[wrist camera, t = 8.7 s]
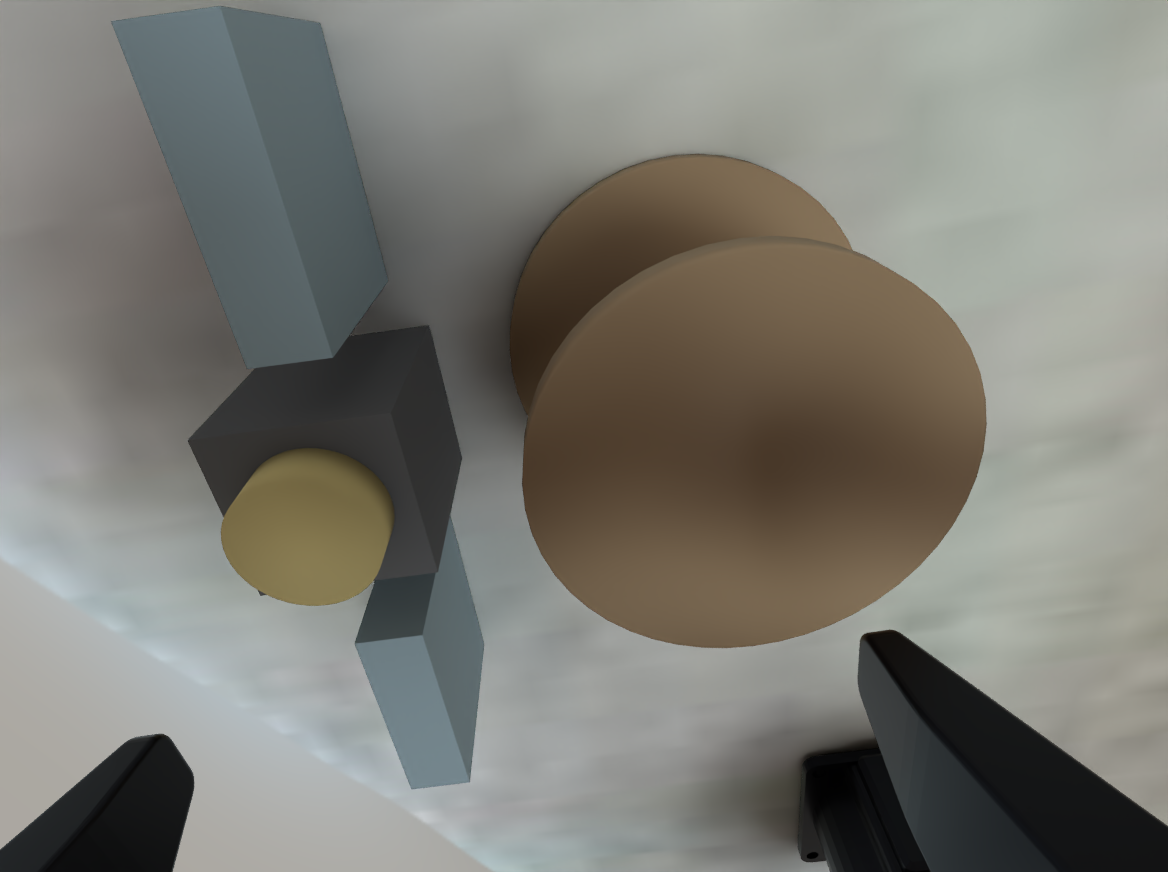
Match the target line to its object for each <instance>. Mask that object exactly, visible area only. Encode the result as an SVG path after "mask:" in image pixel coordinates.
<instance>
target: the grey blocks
mask: <svg viewBox="0 0 1168 872" xmlns="http://www.w3.org/2000/svg"><path fill="white" fill-rule="evenodd" d="M111 22H112V25H113V28H114V30H115V33H116V35H117V38H118V40H119V43H120V45H121V48H122V51H123V53H124V56H125V58H126V61H127V63H128V66H129V68H130V71H131V74H132V76H133V79H134V81H135V84H136V86H137V89H138V91H139V94H140V97H141V99H142V102H143V104H144V107H145V109H146V112H147V114H148V117H149V120H150V122H151V125H152V127H153V130H154V132H155V135H156V137H157V140H158V143H159V145H160V148H161V150H162V153H163V155H164V158H165V160H166V163H167V166H168V168H169V171H170V173H171V176H172V178H173V181H174V183H175V186H176V189H177V191H178V194H179V196H180V199H181V201H182V204H183V206H184V209H185V212H186V214H187V217H188V219H189V222H190V224H191V227H192V229H193V232H194V235H195V237H196V240H197V242H198V245H199V247H200V250H201V252H202V255H203V258H204V260H205V263H206V265H207V268H208V270H209V273H210V275H211V278H212V281H213V283H214V286H215V288H216V291H217V293H218V296H219V298H220V301H221V304H222V306H223V309H224V311H225V314H226V316H227V319H228V321H229V324H230V327H231V329H232V332H233V334H234V337H235V339H236V342H237V344H238V347H239V350H240V352H241V355H242V357H243V360H244V362H245V365H246V367H247V369H252V368H259V367H267V366H274V365H282V364H289V363H297V362H305V361H312V360H320V359H327V358H333V357H334V356H335V354H336V353H337V352H338V350H339V349H340V347H341V346H342V345H343V343H344V342H345V340H346V339H347V338H348V336H349V335H350V333H351V332H352V331H353V329H354V328H355V326H356V325H357V324H358V322H359V321H360V319H361V318H362V317H363V315H364V314H365V313H366V311H367V310H368V308H369V307H370V306H371V304H372V303H373V301H374V300H375V299H376V297H377V296H378V294H379V293H380V292H381V290H382V289H383V287H384V286H385V285H386V283H387V282H388V278H387V274H386V271H385V267H384V263H383V259H382V256H381V252H380V248H379V244H378V240H377V237H376V233H375V229H374V225H373V221H372V218H371V214H370V210H369V206H368V203H367V199H366V195H365V191H364V187H363V184H362V180H361V176H360V172H359V168H358V165H357V161H356V157H355V153H354V149H353V146H352V142H351V138H350V134H349V131H348V127H347V123H346V119H345V115H344V112H343V108H342V104H341V100H340V96H339V93H338V89H337V85H336V81H335V78H334V74H333V70H332V66H331V62H330V59H329V55H328V51H327V47H326V43H325V40H324V36H323V32H322V28H321V24H320V23H317V22H311V21H305V20H300V19H294V18H288V17H282V16H276V15H270V14H264V13H258V12H252V11H246V10H241V9H235V8H229V7H223V6H216V7H209V8H202V9H195V10H188V11H181V12H173V13H166V14H159V15H152V16H145V17H138V18H130V19H123V20H116V21H111ZM355 646H356V649H357V651H358V654H359V656H360V659H361V661H362V664H363V667H364V669H365V672H366V674H367V677H368V679H369V682H370V684H371V687H372V690H373V692H374V695H375V697H376V700H377V702H378V705H379V707H380V710H381V713H382V715H383V718H384V720H385V723H386V725H387V728H388V730H389V733H390V736H391V738H392V741H393V743H394V746H395V748H396V751H397V753H398V756H399V759H400V761H401V764H402V766H403V769H404V771H405V774H406V776H407V779H408V782H409V784H410V787H411V789H418V788H427V787H435V786H443V785H451V784H459V783H467V782H470V775H471V765H472V756H473V746H474V737H475V727H476V718H477V708H478V699H479V689H480V680H481V670H482V661H483V651H484V642H483V638H482V634H481V631H480V627H479V623H478V619H477V615H476V612H475V608H474V604H473V600H472V596H471V593H470V589H469V585H468V581H467V577H466V574H465V570H464V566H463V562H462V559H461V555H460V551H459V547H458V543H457V540H456V536H455V532H454V528H453V524H452V521H451V517H449V522H448V527H447V532H446V537H445V541H444V546H443V551H442V556H441V560H440V565H439V570H438V572H437V573H429V574H421V575H414V576H406V577H399V578H391V579H383V580H376V581H375V583H374V586H373V589H372V592H371V595H370V598H369V601H368V604H367V607H366V610H365V613H364V617H363V620H362V623H361V626H360V629H359V632H358V635H357V638H356V641H355Z"/></svg>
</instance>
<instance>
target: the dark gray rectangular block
mask: <svg viewBox="0 0 1168 872" xmlns="http://www.w3.org/2000/svg"><path fill="white" fill-rule="evenodd" d="M188 442H189V445H190V447H191V449H192V451H193V453H194V455H195V457H196V459H197V462H198V464H199V466H200V468H201V470H202V472H203V474H204V477H205V479H206V481H207V483H208V485H209V487H210V489H211V491H212V494H213V496H214V498H215V500H216V502H217V504H218V506H219V508H220V511H221V513H222V515H223V517H224V519H223V522H222V528H221V541H222V545H223V549H224V552H225V554H226V557H227V559H228V560H229V562H230V564H231V565H232V567H233V568H234V569H235V571H236V572H237V573H238V574H239V575H240V576H241V577H242V578H243V579H244V580H245V581H246V582H248V583H249V584H250V585H251V586H253V587H254V588H256V589H257V590H258V591H259V594H260V596H262V595H268V596H271V597H273V598H276V599H278V600H282V601H285V602H288V603H293V604H298V605H307V606H320V605H329V604H335V603H339V602H342V601H345V600H348V599H350V598H352V597H354V596H356V595H358V594H359V593H361V592H362V591H363V590H365V589H366V588H367V587H368V586H369V585H370V584H371V583H372V582H373V581H376V580H383V579H391V578H399V577H406V576H414V575H421V574H429V573H437V572H438V570H439V565H440V560H441V556H442V551H443V546H444V541H445V537H446V532H447V527H448V522H449V517H450V513H451V508H452V503H453V498H454V494H455V489H456V484H457V479H458V474H459V470H460V465H461V460H462V456H461V452H460V448H459V444H458V440H457V436H456V432H455V428H454V424H453V420H452V416H451V412H450V408H449V404H448V399H447V395H446V391H445V387H444V383H443V379H442V375H441V371H440V367H439V363H438V359H437V355H436V351H435V347H434V343H433V339H432V335H431V331H430V327H429V326H421V327H414V328H407V329H399V330H392V331H385V332H378V333H370V334H363V335H356V336H348V338H347V339H346V340H345V342H344V343H343V345H342V346H341V347H340V349H339V350H338V352H337V353H336V354H335V356H334V357H333V358H327V359H320V360H312V361H305V362H297V363H289V364H282V365H274V366H267V367H259V368H255V369H254V370H253V371H252V373H251V374H250V375H249V376H248V377H247V378H246V379H245V380H244V381H243V382H242V383H241V384H240V385H239V386H238V387H237V388H236V390H235V391H234V392H233V393H232V394H231V395H230V396H229V397H228V398H227V399H226V400H225V401H224V402H223V403H222V404H221V405H220V407H219V408H218V409H217V410H216V411H215V412H214V413H213V414H212V415H211V416H210V417H209V418H208V419H207V420H206V421H205V422H204V423H203V425H202V426H201V427H200V428H199V429H198V430H197V431H196V432H195V433H194V434H193V435H192V436H191V437H190V438H189V439H188Z"/></svg>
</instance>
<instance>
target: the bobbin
mask: <svg viewBox="0 0 1168 872" xmlns="http://www.w3.org/2000/svg"><path fill="white" fill-rule="evenodd" d="M510 358H511V367H512V374H513V377H514V381H515V385H516V389H517V393H518V395H519V397H520V400H521V402H522V405H523V407H524V409H525V412H526V413H527V415H528V420H527V425H526V430H525V436H524V454H523V478H522V487H523V495H524V504H525V511H526V514H527V518H528V522H529V525H530V529H531V532H532V535H533V537H534V539H535V541H536V544H537V546H538V548H539V550H540V552H541V555H542V556H543V558H544V559H545V561H546V562H547V564H548V565H549V567H550V568H551V570H552V571H553V573H554V575H555V576H556V577H557V578H558V579H559V580H560V581H561V582H562V584H563V585H564V586H565V587H566V588H567V589H568V590H569V591H570V593H572V594H573V595H574V596H575V597H576V598H577V599H579V600H580V601H581V602H582V603H583V604H585V605H586V606H587V607H588V608H590V609H591V610H593V611H594V612H596V613H597V614H599V615H600V616H602V617H603V618H605V619H607V620H608V621H610V622H612V623H614V624H616V625H618V626H620V627H623V628H625V629H627V630H629V631H631V632H634V633H637V634H640V635H643V636H646V637H649V638H651V639H655V640H660V641H664V642H668V643H673V644H677V645H686V646H694V647H705V648H733V647H746V646H756V645H761V644H767V643H773V642H779V641H783V640H786V639H790V638H794V637H798V636H801V635H805V634H808V633H810V632H813V631H816V630H818V629H821V628H824V627H827V626H829V625H831V624H834V623H836V622H838V621H840V620H842V619H844V618H846V617H848V616H850V615H853V614H854V613H856V612H858V611H860V610H861V609H863V608H865V607H866V606H868V605H870V604H871V603H873V602H875V601H876V600H878V599H879V598H881V597H882V596H883V595H885V594H886V593H887V592H889V591H890V590H892V589H893V588H894V587H896V586H897V585H898V584H900V583H901V582H902V581H903V580H904V579H905V578H906V577H908V576H909V575H910V574H911V573H912V572H913V571H914V570H915V569H916V568H918V567H919V566H920V565H921V564H922V562H923V561H924V560H925V559H926V558H927V557H928V556H929V555H930V554H931V553H932V552H933V550H934V549H935V548H936V547H937V546H938V545H939V543H940V542H941V541H942V539H943V538H944V536H945V535H946V534H947V532H948V531H949V530H950V528H951V527H952V526H953V524H954V522H955V521H956V519H957V517H958V515H959V514H960V512H961V510H962V508H963V506H964V505H965V503H966V501H967V499H968V496H969V494H970V492H971V489H972V487H973V484H974V482H975V479H976V477H977V474H978V470H979V466H980V462H981V458H982V455H983V451H984V442H985V433H986V400H985V394H984V389H983V384H982V379H981V374H980V371H979V368H978V366H977V363H976V361H975V358H974V356H973V353H972V350H971V348H970V346H969V344H968V343H967V341H966V340H965V338H964V336H963V335H962V333H961V331H960V330H959V328H958V326H957V325H956V323H955V322H954V321H953V320H952V319H951V318H950V317H949V315H948V314H947V313H946V312H945V311H944V310H943V309H942V307H941V306H940V305H939V304H938V303H937V302H936V301H935V300H933V299H932V298H931V297H930V296H928V295H927V294H926V293H925V292H923V291H922V290H921V289H920V288H919V287H917V286H916V285H915V284H913V283H912V282H910V281H908V280H907V279H905V278H903V277H902V276H900V275H898V274H897V273H895V272H894V271H892V270H890V269H888V268H887V267H885V266H883V265H881V264H880V263H878V262H876V261H874V260H872V259H871V258H869V257H867V256H865V255H863V254H860V253H858V252H855V251H853V250H852V248H851V246H850V244H849V241H848V239H847V238H846V236H845V235H844V233H843V231H842V230H841V228H840V227H839V225H838V224H837V222H836V221H835V219H834V218H833V217H832V216H831V215H830V214H829V213H828V212H827V210H826V209H825V208H824V207H823V206H822V205H821V204H820V203H819V202H818V201H817V200H816V199H814V198H813V197H812V196H811V195H809V194H808V193H807V192H806V191H805V190H803V189H802V188H801V187H799V186H797V185H796V184H794V183H792V182H791V181H789V180H787V179H785V178H784V177H782V176H780V175H778V174H776V173H774V172H772V171H770V170H768V169H765V168H763V167H760V166H758V165H755V164H752V163H750V162H747V161H743V160H739V159H734V158H730V157H726V156H718V155H705V154H690V155H674V156H668V157H663V158H659V159H654V160H649V161H646V162H643V163H640V164H637V165H634V166H631V167H629V168H626V169H623V170H621V171H619V172H617V173H615V174H613V175H611V176H609V177H608V178H606V179H604V180H602V181H600V182H599V183H597V184H596V185H594V186H593V187H591V188H590V189H588V190H587V191H586V192H584V193H583V194H581V195H580V196H579V197H578V198H576V199H575V200H574V201H573V202H572V203H571V204H570V205H569V206H568V207H567V208H565V209H564V210H563V211H562V212H561V213H560V214H559V215H558V217H557V218H556V219H555V220H554V221H553V223H552V224H551V225H550V226H549V227H548V229H547V230H546V231H545V232H544V234H543V235H542V237H541V239H540V240H539V242H538V243H537V245H536V246H535V248H534V249H533V251H532V253H531V255H530V257H529V259H528V261H527V264H526V266H525V268H524V270H523V272H522V275H521V278H520V281H519V285H518V288H517V291H516V294H515V300H514V306H513V312H512V318H511V325H510Z"/></svg>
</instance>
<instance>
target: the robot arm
mask: <svg viewBox="0 0 1168 872" xmlns="http://www.w3.org/2000/svg"><path fill="white" fill-rule="evenodd" d="M858 687H859V692H860V695H861V699H862V701H863V704H864V707H865V710H866V712H867V715H868V718H869V721H870V723H871V726H872V729H873V732H874V734H875V737H876V740H877V742H878V745H879V749H871V750H863V751H855V752H846V753H838V754H830V755H822V756H815V757H811V758H809V759H807V760H806V761H805V762H804V763H803V765H802V780H801V798H800V816H799V834H798V850H799V853H800V856H801V859H802V860H803V861H805V862H818V861H827V864H828V867H829V869H830V872H1168V826H1167V825H1166V824H1164V823H1163V822H1162V821H1160V820H1159V819H1157V818H1156V817H1155V816H1153V815H1152V814H1150V813H1149V812H1148V811H1146V810H1145V809H1144V808H1142V807H1141V806H1139V805H1138V804H1137V803H1135V802H1134V801H1132V800H1131V799H1130V798H1128V797H1127V796H1126V795H1124V794H1123V793H1121V792H1120V791H1119V790H1117V789H1116V788H1114V787H1113V786H1112V785H1110V784H1109V783H1108V782H1106V781H1105V780H1103V779H1102V778H1101V777H1099V776H1098V775H1096V774H1095V773H1094V772H1092V771H1091V770H1090V769H1088V768H1087V767H1085V766H1084V765H1083V764H1081V763H1080V762H1078V761H1077V760H1076V759H1074V758H1073V757H1072V756H1070V755H1069V754H1067V753H1066V752H1065V751H1063V750H1062V749H1060V748H1059V747H1058V746H1056V745H1055V744H1054V743H1052V742H1051V741H1049V740H1048V739H1047V738H1045V737H1044V736H1042V735H1041V734H1040V733H1038V732H1037V731H1036V730H1034V729H1033V728H1031V727H1030V726H1029V725H1027V724H1026V723H1024V722H1023V721H1022V720H1020V719H1019V718H1018V717H1016V716H1015V715H1013V714H1012V713H1011V712H1009V711H1008V710H1006V709H1005V708H1004V707H1002V706H1001V705H999V704H998V703H997V702H995V701H994V700H993V699H991V698H990V697H988V696H987V695H986V694H984V693H983V692H981V691H980V690H979V689H977V688H976V687H975V686H973V685H972V684H970V683H969V682H968V681H966V680H965V679H963V678H962V677H961V676H959V675H958V674H957V673H955V672H954V671H952V670H951V669H950V668H948V667H947V666H945V665H944V664H943V663H941V662H940V661H939V660H937V659H936V658H934V657H933V656H932V655H930V654H929V653H927V652H926V651H925V650H923V649H922V648H921V647H919V646H918V645H916V644H915V643H914V642H912V641H911V640H909V639H908V638H907V637H905V636H904V635H903V634H901V633H899V632H897V631H895V630H885V631H878V632H871V633H866V634H864V635H863V636H862V637H861V640H860V648H859V664H858ZM193 791H194V776H193V772H192V770H191V769H190V767H189V766H188V764H187V763H186V761H185V759H184V758H183V756H182V755H181V753H180V752H179V750H178V749H177V747H176V746H175V744H174V743H173V741H172V740H171V739H170V738H169V737H168V736H166V735H164V734H154V735H147V736H140V737H135V738H132V739H130V740H128V741H127V742H125V743H124V744H123V745H122V746H120V747H119V748H118V749H117V750H116V751H115V752H114V753H112V754H111V755H110V756H109V757H108V758H106V759H105V760H104V761H103V762H102V763H101V764H99V765H98V766H97V767H96V768H95V769H94V770H93V771H91V772H90V773H89V774H88V775H87V776H86V777H84V778H83V779H82V780H81V781H80V782H78V783H77V784H76V785H75V786H74V787H73V788H71V790H69V791H68V792H67V793H66V794H64V795H63V796H62V797H61V798H60V799H59V800H58V801H56V802H55V803H54V804H53V805H52V806H51V807H49V808H48V809H47V810H46V811H45V812H44V813H42V814H41V815H40V816H39V817H38V818H37V819H35V820H34V821H33V822H32V823H31V824H30V825H28V826H27V827H26V828H25V829H24V830H23V831H22V832H20V833H19V834H18V835H17V836H16V837H15V838H13V839H12V840H11V841H10V842H9V843H8V844H6V845H5V846H4V847H3V848H2V849H0V872H173V868H174V864H175V860H176V857H177V853H178V849H179V845H180V841H181V838H182V834H183V830H184V826H185V822H186V819H187V815H188V811H189V807H190V803H191V800H192V796H193Z"/></svg>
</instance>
